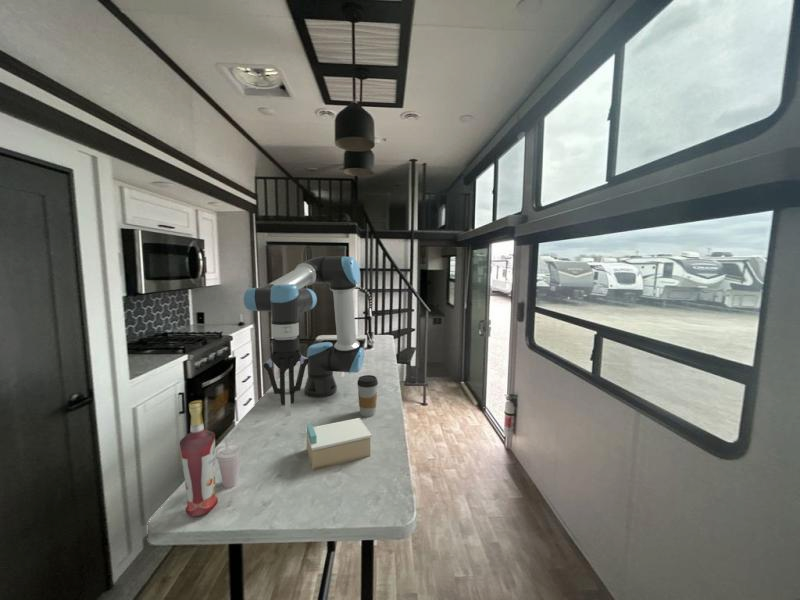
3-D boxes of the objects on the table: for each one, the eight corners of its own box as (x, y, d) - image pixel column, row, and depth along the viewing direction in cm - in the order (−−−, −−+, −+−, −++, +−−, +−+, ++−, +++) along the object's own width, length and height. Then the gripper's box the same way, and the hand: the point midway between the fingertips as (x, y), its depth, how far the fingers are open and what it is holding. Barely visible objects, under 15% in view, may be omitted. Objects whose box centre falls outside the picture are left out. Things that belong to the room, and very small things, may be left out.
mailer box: (306, 449, 108) (306, 432, 108) (358, 437, 116) (358, 421, 115) (313, 470, 97) (312, 451, 97) (370, 455, 105) (370, 438, 104)
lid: (305, 430, 108) (305, 421, 107) (359, 419, 115) (359, 411, 115) (311, 450, 96) (311, 440, 96) (371, 437, 104) (371, 427, 104)
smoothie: (224, 476, 94) (221, 430, 93) (247, 475, 95) (245, 429, 93) (213, 492, 88) (210, 443, 86) (238, 490, 89) (235, 442, 87)
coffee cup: (374, 419, 130) (374, 382, 128) (354, 417, 131) (354, 381, 129) (380, 409, 138) (380, 375, 136) (361, 408, 139) (361, 374, 138)
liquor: (215, 517, 79) (208, 407, 76) (180, 524, 77) (171, 411, 74) (222, 496, 86) (216, 395, 83) (190, 502, 84) (183, 398, 81)
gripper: (262, 341, 90) (264, 423, 92) (310, 337, 95) (312, 415, 98) (261, 336, 96) (263, 413, 99) (306, 332, 102) (307, 405, 104)
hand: (287, 414), depth 98 cm, fingers closed
